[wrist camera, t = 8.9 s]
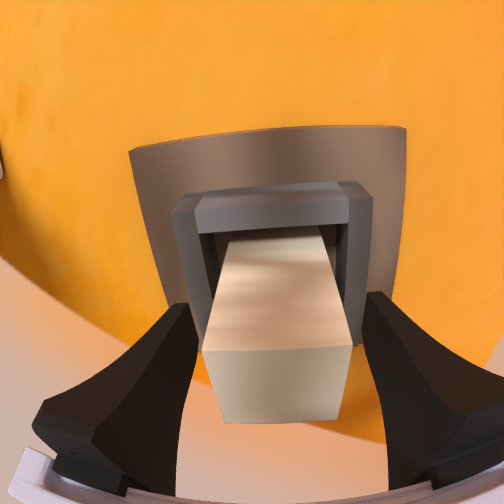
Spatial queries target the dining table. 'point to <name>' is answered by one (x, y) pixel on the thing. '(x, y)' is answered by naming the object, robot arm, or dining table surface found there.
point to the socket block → (274, 205)
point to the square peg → (277, 330)
